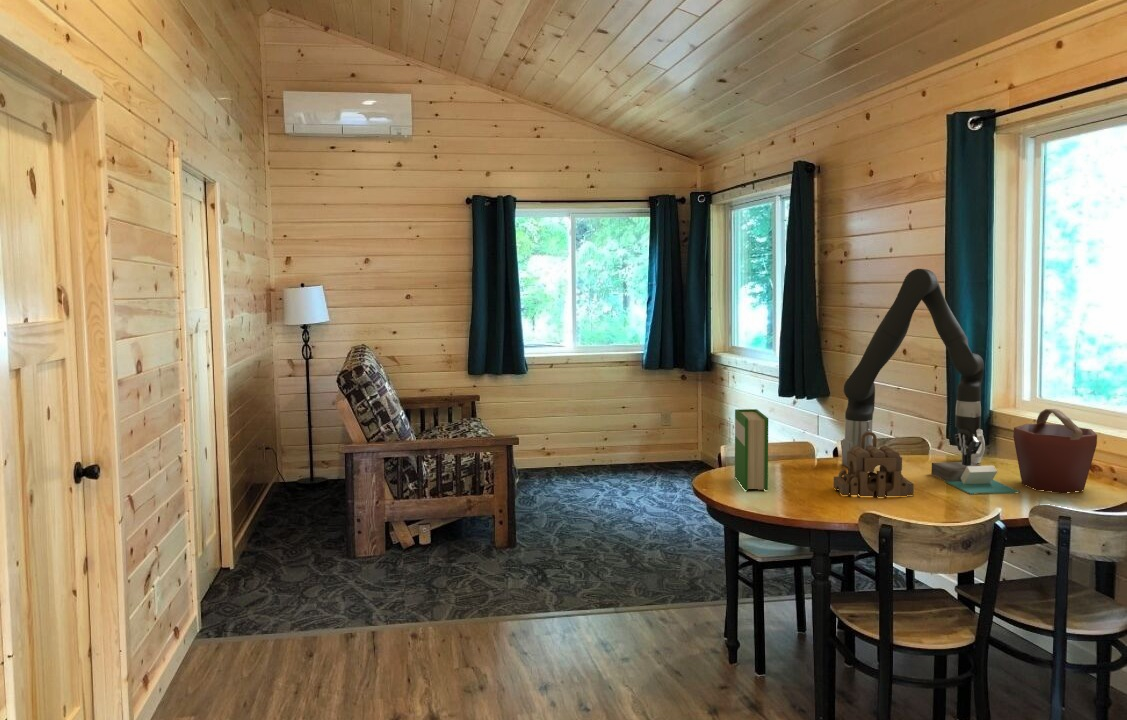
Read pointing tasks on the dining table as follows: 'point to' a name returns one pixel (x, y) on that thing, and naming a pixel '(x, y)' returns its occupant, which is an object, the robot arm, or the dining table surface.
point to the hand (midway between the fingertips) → (966, 465)
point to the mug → (977, 457)
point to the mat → (983, 487)
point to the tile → (978, 474)
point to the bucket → (1054, 453)
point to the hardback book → (751, 449)
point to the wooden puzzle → (866, 461)
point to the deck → (949, 470)
